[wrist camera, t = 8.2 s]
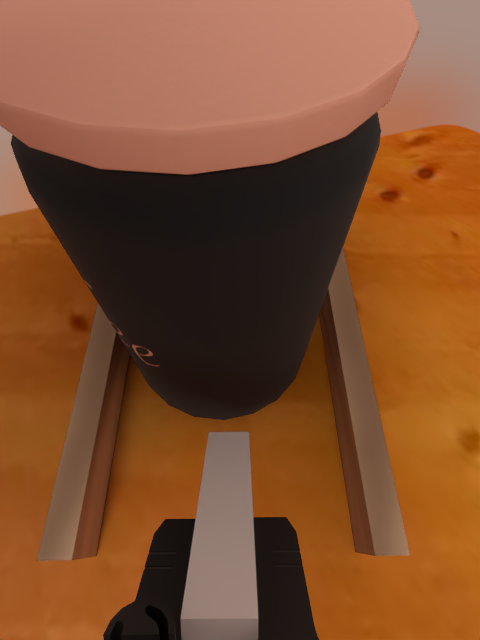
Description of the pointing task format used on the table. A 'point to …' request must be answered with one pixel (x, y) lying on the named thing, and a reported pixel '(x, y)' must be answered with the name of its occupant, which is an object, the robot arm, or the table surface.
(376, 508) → the channel
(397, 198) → the table surface
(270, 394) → the coffee jar
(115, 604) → the table surface
